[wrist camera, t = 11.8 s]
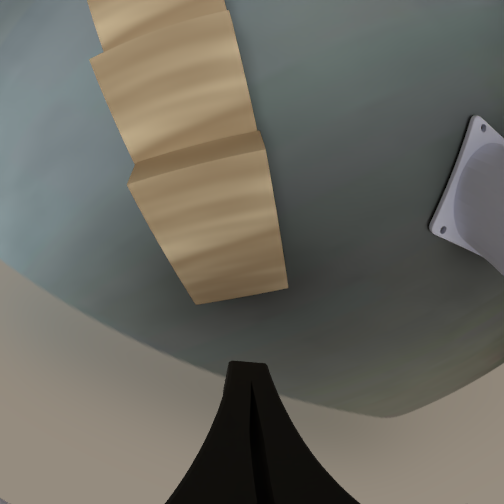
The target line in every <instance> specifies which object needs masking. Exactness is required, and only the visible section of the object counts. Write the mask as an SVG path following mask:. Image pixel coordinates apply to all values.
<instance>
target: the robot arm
mask: <svg viewBox="0 0 504 504" xmlns="http://www.w3.org/2000/svg"><path fill="white" fill-rule="evenodd" d="M481 126H482V130H481ZM442 227H443V229H442V230H441V228H442ZM429 229H430V231H431V232H432V233H433V234H434V235H437V236H439V237H441V238H443V239H446V240H448V241H450V242H452V243H454V244H457V245H459V246H461V247H463V248H465V249H467V250H469V251H472V252H474V253H476V254H478V255H480V256H482V257H484V258H485V259H486V260H487V261H488V262H489V263H490V264H491V265H493V266H494V267H495V268H496V269H497V270H498V271H499V272H500V273H501V274H502V275H503V276H504V138H503V137H502V136H501V135H500V134H499V133H497V132H496V131H495V130H494V129H493V128H492V127H491V126H490V125H489V124H488V123H487V122H486V121H485V120H483V119H482V118H481V117H480V116H477V115H473V116H472V117H471V120H470V123H469V126H468V129H467V132H466V135H465V138H464V141H463V144H462V147H461V150H460V153H459V156H458V158H457V161H456V164H455V166H454V169H453V172H452V174H451V177H450V179H449V182H448V184H447V186H446V189H445V191H444V193H443V196H442V198H441V200H440V203H439V205H438V207H437V209H436V211H435V214H434V216H433V218H432V220H431V222H430V225H429ZM440 230H441V231H440ZM0 504H10V503H8V502H6V501H5V500H3V499H1V498H0ZM165 504H360V503H359V502H357V501H356V500H355V499H354V498H353V497H352V496H351V495H349V494H348V493H347V492H346V491H345V490H344V489H343V488H342V487H341V486H340V485H339V484H338V483H337V482H336V481H335V480H334V479H333V478H332V477H331V476H330V475H329V473H328V472H327V471H326V470H325V469H324V468H323V467H322V465H321V464H320V463H319V462H318V460H317V459H316V458H315V456H314V455H313V454H312V452H311V451H310V450H309V448H308V447H307V445H306V444H305V443H304V441H303V439H302V438H301V436H300V435H299V433H298V432H297V430H296V428H295V426H294V425H293V423H292V421H291V419H290V417H289V415H288V413H287V412H286V410H285V408H284V406H283V404H282V402H281V399H280V397H279V395H278V393H277V390H276V388H275V386H274V383H273V381H272V378H271V375H270V372H269V369H268V366H267V365H266V364H265V363H253V362H242V361H231V362H229V365H228V370H227V375H226V379H225V384H224V390H223V397H222V400H221V403H220V406H219V409H218V412H217V414H216V417H215V419H214V421H213V424H212V426H211V429H210V431H209V433H208V435H207V437H206V439H205V441H204V443H203V445H202V447H201V449H200V451H199V453H198V454H197V456H196V458H195V460H194V461H193V463H192V465H191V467H190V468H189V470H188V471H187V473H186V475H185V476H184V478H183V479H182V481H181V482H180V484H179V485H178V487H177V488H176V489H175V491H174V492H173V494H172V495H171V496H170V498H169V499H168V500H167V502H166V503H165Z"/></svg>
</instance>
